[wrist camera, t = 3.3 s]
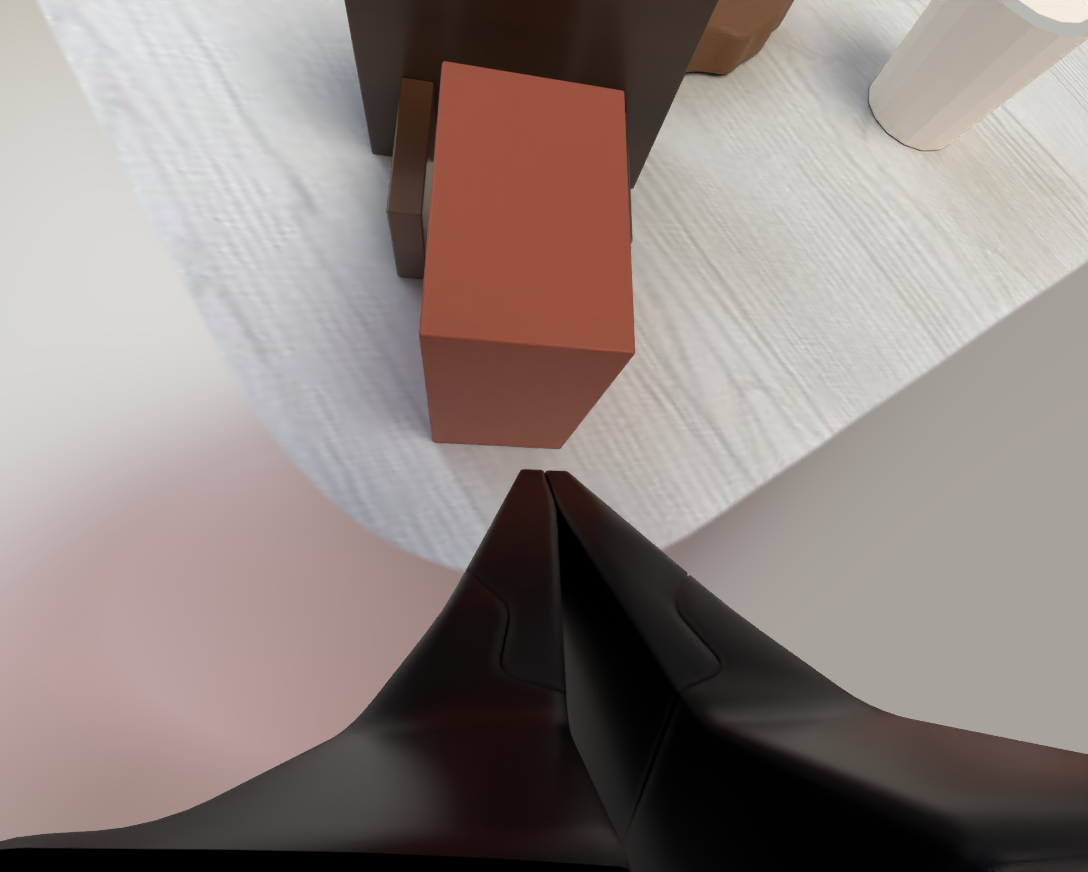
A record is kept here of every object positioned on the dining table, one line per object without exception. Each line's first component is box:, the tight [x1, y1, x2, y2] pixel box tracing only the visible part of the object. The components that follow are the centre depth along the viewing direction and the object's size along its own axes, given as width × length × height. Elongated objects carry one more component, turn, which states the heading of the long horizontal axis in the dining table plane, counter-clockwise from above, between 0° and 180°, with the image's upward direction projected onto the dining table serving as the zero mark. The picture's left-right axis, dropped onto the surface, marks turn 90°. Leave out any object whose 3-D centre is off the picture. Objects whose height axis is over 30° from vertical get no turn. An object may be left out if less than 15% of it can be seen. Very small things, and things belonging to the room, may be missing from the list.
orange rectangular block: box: [419, 61, 635, 449], centre depth 17 cm, size 8×5×9 cm, turn 179°
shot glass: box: [869, 0, 1088, 150], centre depth 27 cm, size 7×7×7 cm
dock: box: [345, 0, 719, 279], centre depth 20 cm, size 10×12×9 cm
